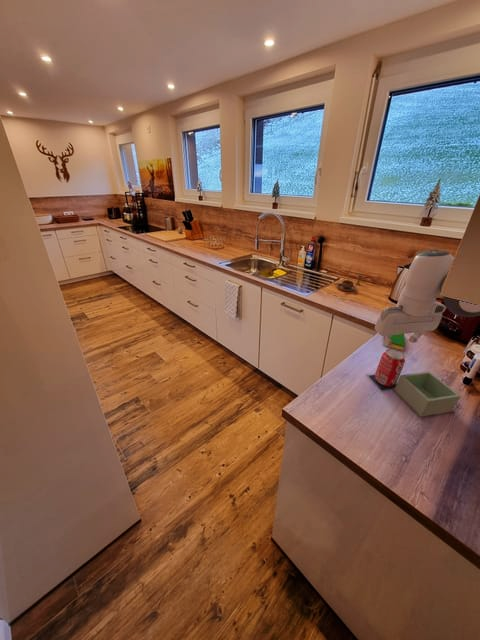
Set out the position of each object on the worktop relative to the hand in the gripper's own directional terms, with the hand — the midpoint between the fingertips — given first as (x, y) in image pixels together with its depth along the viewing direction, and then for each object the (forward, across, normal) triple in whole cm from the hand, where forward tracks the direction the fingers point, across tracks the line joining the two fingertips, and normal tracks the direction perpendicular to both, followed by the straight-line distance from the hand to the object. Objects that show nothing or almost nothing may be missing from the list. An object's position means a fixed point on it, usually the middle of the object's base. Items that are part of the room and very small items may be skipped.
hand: (399, 343), depth 85 cm
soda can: (+16, 0, 0) cm, 16 cm away
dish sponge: (+17, +23, +24) cm, 37 cm away
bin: (+17, +6, -10) cm, 20 cm away
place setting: (+17, +39, +83) cm, 93 cm away
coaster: (+17, 0, 0) cm, 17 cm away
